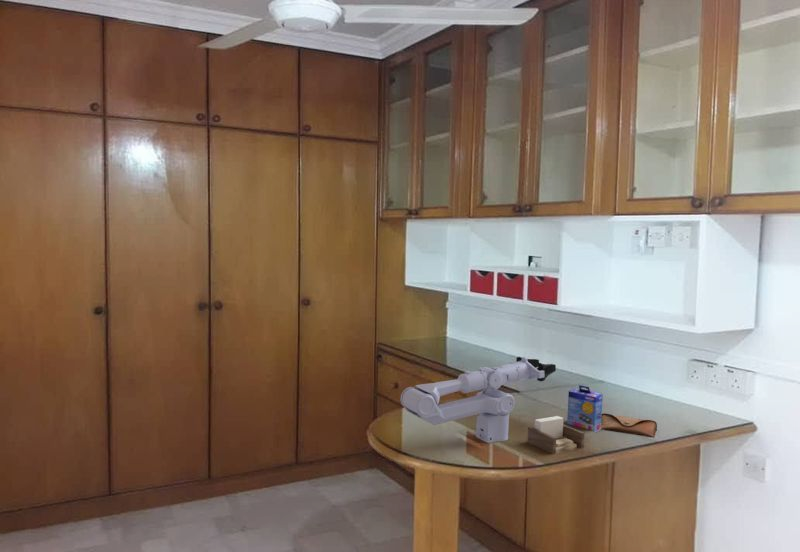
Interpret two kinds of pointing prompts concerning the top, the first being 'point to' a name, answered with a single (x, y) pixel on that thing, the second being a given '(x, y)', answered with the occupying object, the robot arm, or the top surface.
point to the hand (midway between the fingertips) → (546, 365)
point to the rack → (549, 441)
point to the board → (550, 426)
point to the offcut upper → (563, 442)
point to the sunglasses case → (628, 425)
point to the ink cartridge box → (585, 409)
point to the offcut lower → (566, 447)
